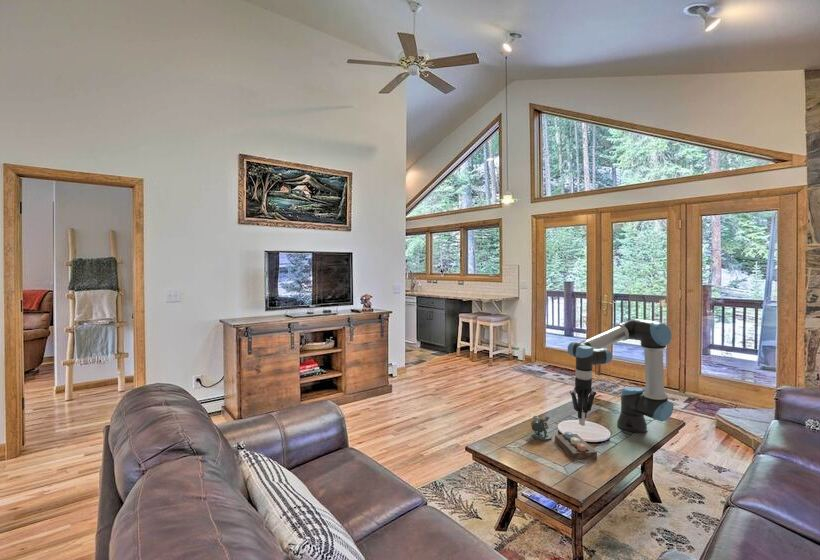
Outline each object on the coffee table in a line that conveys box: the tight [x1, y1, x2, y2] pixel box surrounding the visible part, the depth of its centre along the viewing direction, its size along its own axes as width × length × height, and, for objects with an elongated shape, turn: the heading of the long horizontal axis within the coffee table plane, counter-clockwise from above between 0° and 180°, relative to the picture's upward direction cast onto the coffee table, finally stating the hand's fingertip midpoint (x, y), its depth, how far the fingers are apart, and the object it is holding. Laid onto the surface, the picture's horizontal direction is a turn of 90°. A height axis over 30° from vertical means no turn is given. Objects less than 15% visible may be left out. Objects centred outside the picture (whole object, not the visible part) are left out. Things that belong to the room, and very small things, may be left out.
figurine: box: [530, 415, 553, 442], centre depth 221 cm, size 11×11×12 cm
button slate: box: [564, 431, 574, 440], centre depth 213 cm, size 4×4×3 cm
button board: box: [554, 433, 598, 461], centre depth 207 cm, size 12×20×4 cm, turn 5°
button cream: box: [570, 437, 580, 446], centre depth 206 cm, size 4×4×3 cm
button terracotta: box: [577, 443, 587, 452], centre depth 200 cm, size 4×4×3 cm
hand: (581, 424), depth 199 cm, fingers closed
